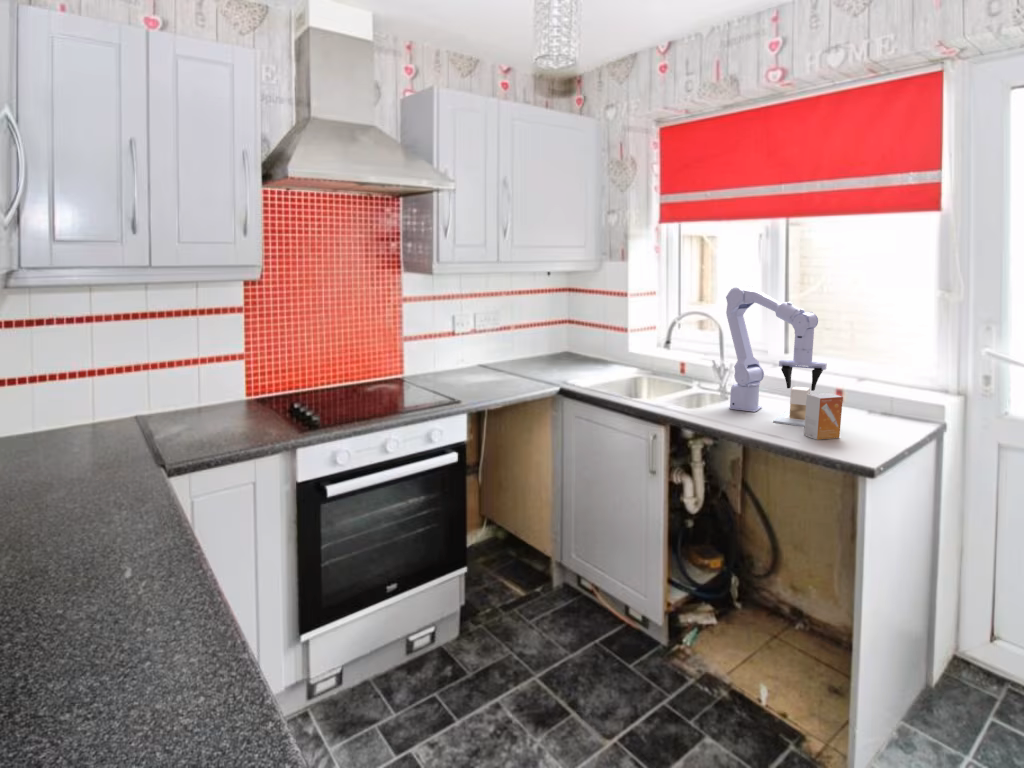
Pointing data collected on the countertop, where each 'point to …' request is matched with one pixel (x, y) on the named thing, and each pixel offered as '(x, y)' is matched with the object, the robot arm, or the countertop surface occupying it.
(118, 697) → the countertop surface
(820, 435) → the small box
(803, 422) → the board
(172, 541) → the countertop surface
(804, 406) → the base cube
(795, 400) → the top cube
